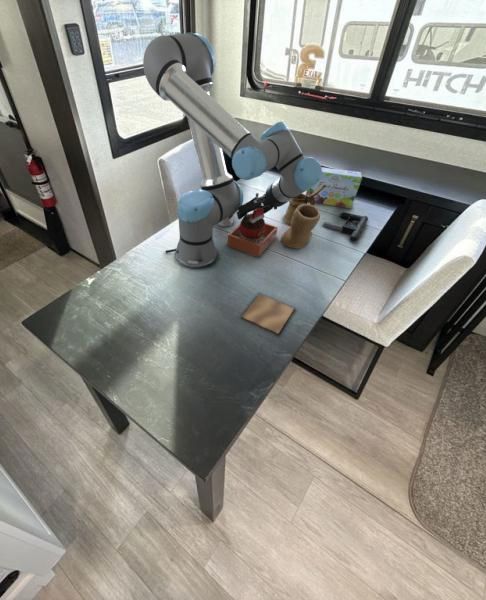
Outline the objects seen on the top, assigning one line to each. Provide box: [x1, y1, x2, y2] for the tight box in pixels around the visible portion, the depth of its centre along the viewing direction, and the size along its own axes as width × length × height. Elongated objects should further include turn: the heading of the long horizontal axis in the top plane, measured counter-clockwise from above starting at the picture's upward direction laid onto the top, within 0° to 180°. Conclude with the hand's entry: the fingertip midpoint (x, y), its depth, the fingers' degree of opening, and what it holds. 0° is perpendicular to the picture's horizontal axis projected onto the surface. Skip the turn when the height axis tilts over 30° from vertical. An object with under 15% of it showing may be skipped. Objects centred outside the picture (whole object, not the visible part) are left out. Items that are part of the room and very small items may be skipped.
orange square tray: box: [226, 222, 279, 258], centre depth 122 cm, size 14×16×5 cm
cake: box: [239, 192, 266, 243], centre depth 116 cm, size 11×9×18 cm
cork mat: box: [241, 293, 295, 335], centre depth 96 cm, size 12×12×1 cm
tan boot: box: [280, 203, 321, 250], centre depth 120 cm, size 15×12×15 cm
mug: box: [217, 214, 234, 228], centre depth 133 cm, size 10×7×7 cm, turn 171°
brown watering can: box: [282, 184, 326, 226], centre depth 129 cm, size 9×14×18 cm, turn 63°
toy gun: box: [322, 211, 369, 243], centre depth 132 cm, size 3×20×16 cm
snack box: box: [305, 166, 363, 209], centre depth 143 cm, size 21×6×15 cm, turn 73°
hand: (250, 213), depth 118 cm, fingers closed on cake, 10 cm apart
